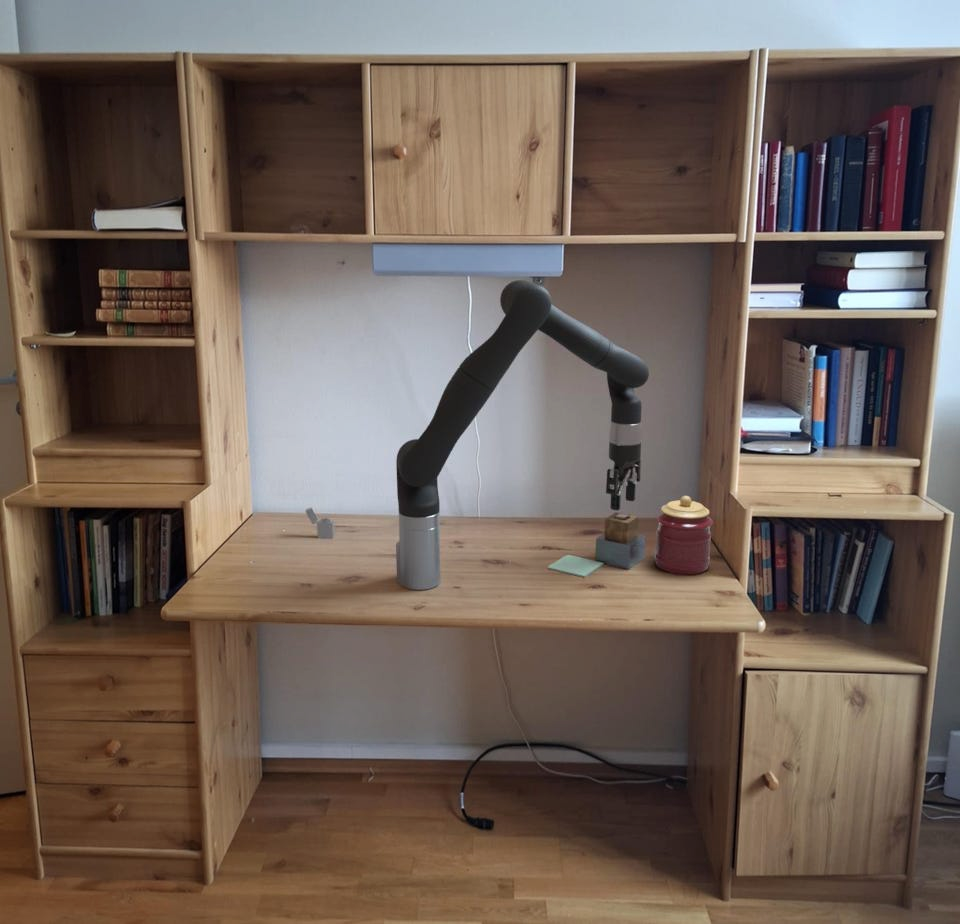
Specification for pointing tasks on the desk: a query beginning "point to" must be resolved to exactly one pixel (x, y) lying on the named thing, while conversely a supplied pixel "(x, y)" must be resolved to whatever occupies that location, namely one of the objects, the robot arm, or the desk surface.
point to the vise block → (620, 550)
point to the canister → (683, 537)
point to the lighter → (321, 525)
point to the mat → (575, 565)
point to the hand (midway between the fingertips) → (622, 505)
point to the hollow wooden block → (621, 528)
